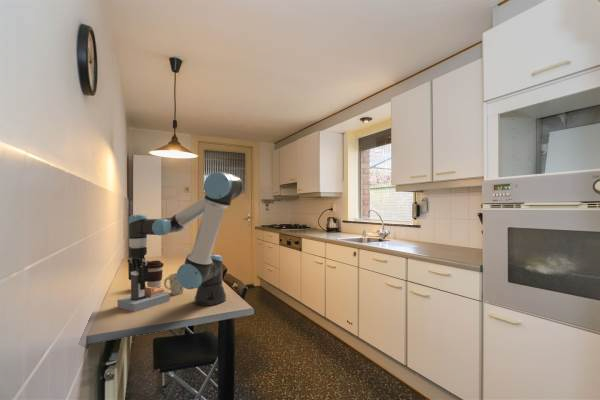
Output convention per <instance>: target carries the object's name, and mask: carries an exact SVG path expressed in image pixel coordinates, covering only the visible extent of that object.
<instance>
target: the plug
mask: <svg viewBox="0 0 600 400" xmlns="http://www.w3.org/2000/svg"><path fill="white" fill-rule="evenodd" d="M138 275H139V273H138V269H137V271H134V272H131V280H130V296H131V300H134V301H138V300H142V299H145V296H142V297H138V282H139V276H138Z"/></svg>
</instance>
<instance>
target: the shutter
mask: <svg viewBox="0 0 600 400" xmlns="http://www.w3.org/2000/svg"><path fill="white" fill-rule="evenodd" d="M162 292H165V288H161V287H159V288H156V287H155V288H153V287H148V286H147V285H145V295H148V296H152V295H155V294H159V293H162Z"/></svg>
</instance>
